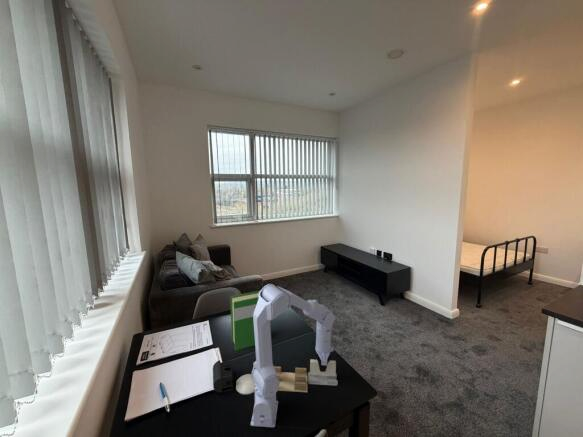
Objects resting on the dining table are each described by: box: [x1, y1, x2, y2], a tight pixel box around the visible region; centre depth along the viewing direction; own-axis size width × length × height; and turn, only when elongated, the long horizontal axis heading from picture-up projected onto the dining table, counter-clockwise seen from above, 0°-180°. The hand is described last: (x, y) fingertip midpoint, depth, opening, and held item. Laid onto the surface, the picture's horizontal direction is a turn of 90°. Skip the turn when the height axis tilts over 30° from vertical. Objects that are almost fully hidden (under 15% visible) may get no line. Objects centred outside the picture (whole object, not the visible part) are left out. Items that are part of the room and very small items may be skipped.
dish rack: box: [273, 365, 308, 393], centre depth 96 cm, size 9×16×4 cm, turn 86°
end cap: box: [212, 359, 234, 394], centre depth 96 cm, size 10×7×7 cm
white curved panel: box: [309, 358, 337, 376], centre depth 97 cm, size 2×10×6 cm, turn 86°
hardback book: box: [230, 290, 261, 352], centre depth 121 cm, size 18×7×24 cm, turn 116°
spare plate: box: [235, 373, 255, 395], centre depth 96 cm, size 9×9×1 cm
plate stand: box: [307, 371, 339, 386], centre depth 98 cm, size 5×12×2 cm, turn 86°
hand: (322, 369), depth 97 cm, fingers closed on white curved panel, 2 cm apart
